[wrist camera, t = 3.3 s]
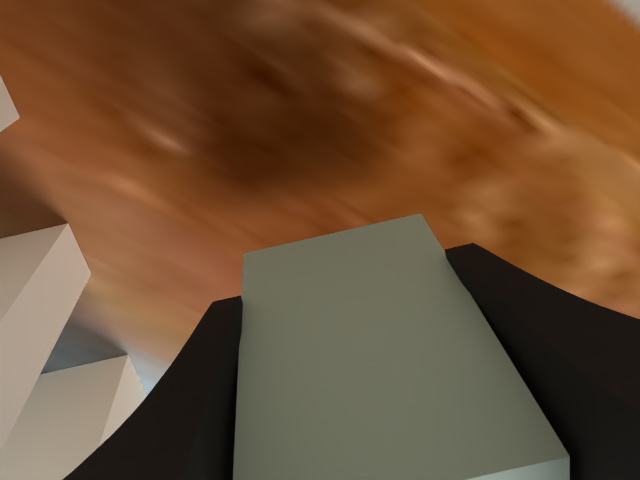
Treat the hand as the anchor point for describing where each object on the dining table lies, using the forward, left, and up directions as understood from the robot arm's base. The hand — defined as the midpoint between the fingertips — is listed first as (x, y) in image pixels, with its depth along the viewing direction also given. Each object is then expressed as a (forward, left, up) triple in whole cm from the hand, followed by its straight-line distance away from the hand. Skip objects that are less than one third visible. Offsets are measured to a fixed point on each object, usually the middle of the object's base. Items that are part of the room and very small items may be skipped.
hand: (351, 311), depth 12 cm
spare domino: (0, 0, -2) cm, 2 cm away
